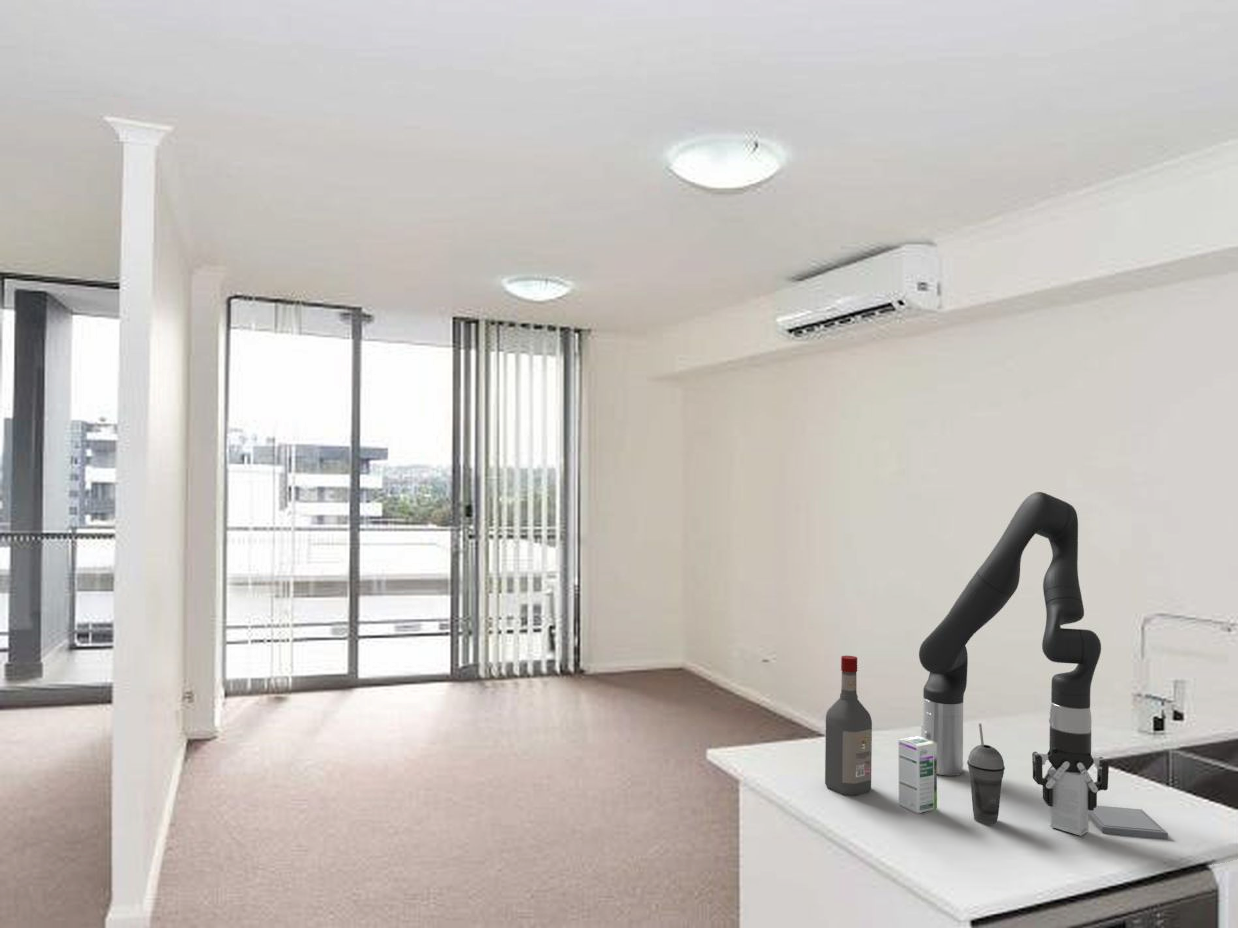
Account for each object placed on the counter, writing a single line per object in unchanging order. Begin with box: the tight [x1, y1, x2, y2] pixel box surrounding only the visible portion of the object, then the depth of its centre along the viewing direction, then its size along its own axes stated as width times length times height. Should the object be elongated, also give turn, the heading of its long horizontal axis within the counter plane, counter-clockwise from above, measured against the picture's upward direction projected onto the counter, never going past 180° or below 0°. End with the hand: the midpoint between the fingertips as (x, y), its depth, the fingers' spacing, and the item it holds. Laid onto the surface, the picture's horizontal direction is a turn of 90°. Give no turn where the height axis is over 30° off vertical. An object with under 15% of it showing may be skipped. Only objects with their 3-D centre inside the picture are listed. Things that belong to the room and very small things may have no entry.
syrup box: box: [898, 735, 938, 814], centre depth 178 cm, size 6×6×14 cm
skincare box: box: [1050, 767, 1090, 837], centre depth 167 cm, size 6×4×12 cm
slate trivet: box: [1089, 805, 1169, 840], centre depth 171 cm, size 12×12×1 cm
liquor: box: [824, 655, 873, 797], centre depth 188 cm, size 9×9×30 cm
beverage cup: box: [966, 723, 1006, 826], centre depth 171 cm, size 7×7×20 cm
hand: (1069, 806), depth 167 cm, fingers closed on skincare box, 7 cm apart
